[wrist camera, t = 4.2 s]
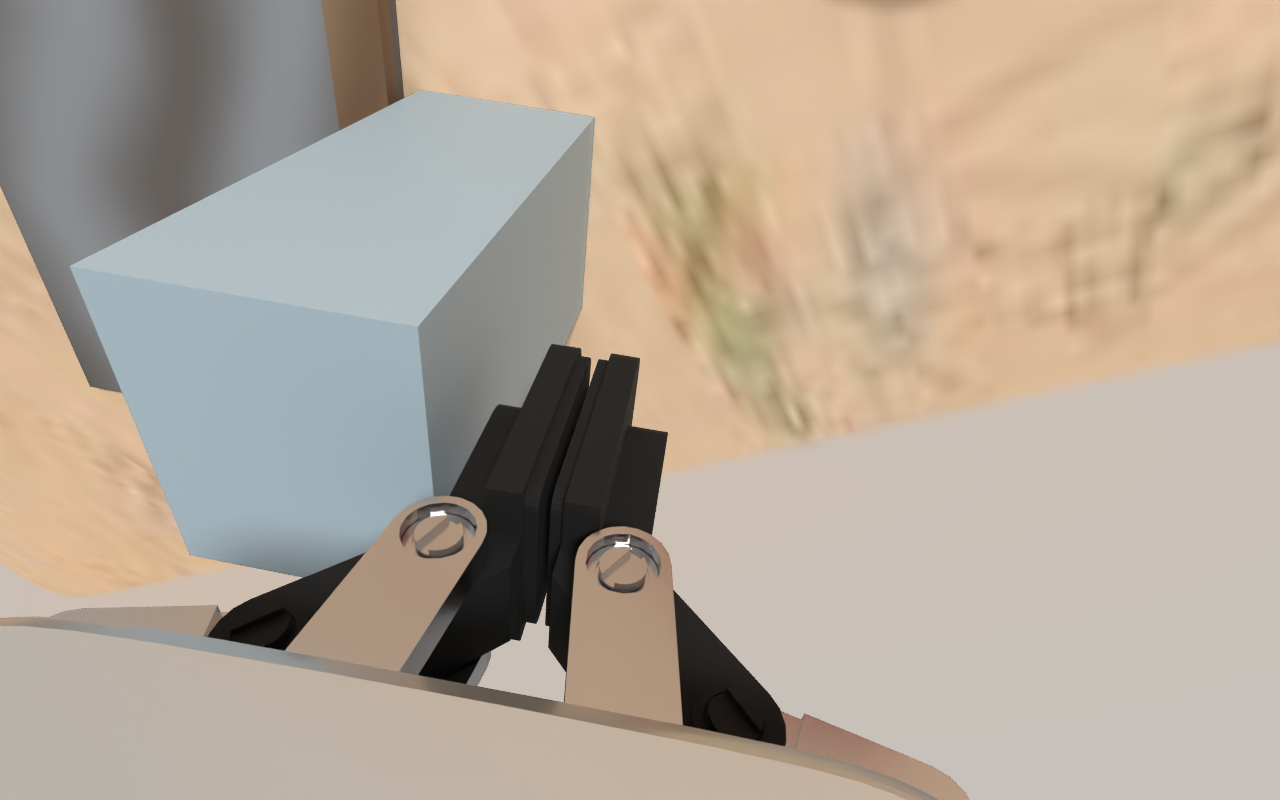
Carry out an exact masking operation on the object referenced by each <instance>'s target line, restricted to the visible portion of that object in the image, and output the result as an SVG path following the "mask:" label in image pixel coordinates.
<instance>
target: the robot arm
mask: <svg viewBox="0 0 1280 800" xmlns="http://www.w3.org/2000/svg"><path fill="white" fill-rule="evenodd" d="M639 364H640V358H636V357H630V356H624V355H618V354H611V355H610V358H609V361H607V360H601V359H599V360H598V363H597V366H596V368H595V371H594V374H593V377H592V380H591V383H590V386H589V380H590V368H591V358H589V357H583V356H581V349H580V348H575V347H569V346H563V345H557V344H551V345H550V347H549V349H548V351H547V354H546V356H545V358H544V360H543V362H542V364H541V367H540V369H539V371H538V373H537V375H536V377H535V379H534V382H533V384H532V386H531V388H530V390H529V392H528V395H527V397H526V399H525V401H524V403H523V405H522V407H521V408H520V407H514V406H508V405H502V404H499V405H497V406H496V408H495V409H494V411H493V412H492V414H491V416H490V418H489V420H488V422H487V424H486V426H485V428H484V430H483V432H482V434H481V436H480V438H479V439H478V441H477V443H476V445H475V447H474V449H473V451H472V453H471V455H470V457H469V459H468V461H467V463H466V465H465V467H464V468H463V470H462V472H461V474H460V476H459V478H458V480H457V482H456V484H455V486H454V488H453V490H452V492H451V494H450V495H449V496H433V497H429V498H425V499H422V500H418V501H416V502H415V503H413V504H411V505H409V506H407V507H405V508H404V509H403V510H402V511H401V512H400V513H399V514H398V515H396V516H395V518H394V519H393V520H392V521H391V522H390V524H389V525H388V526H387V527H386V529H385V530H384V531H383V532H382V533H381V535H380V536H379V537H378V538H377V539H376V541H375V542H374V543H373V544H372V546H371V547H370V548H369V549H368V550H367V552H365V553H363V554H360V555H358V556H355V557H353V558H351V559H348V560H346V561H343V562H341V563H338V564H336V565H333V566H331V567H328V568H326V569H324V570H321V571H319V572H316V573H314V574H311V575H309V576H306V577H304V578H302V579H299V580H297V581H294V582H292V583H289V584H287V585H285V586H282V587H279V588H277V589H275V590H272V591H270V592H267V593H265V594H262V595H260V596H257V597H255V598H252V599H250V600H248V601H246V602H244V603H243V604H241V605H239V606H237V607H235V608H233V609H232V610H231V611H230V612H220V610H219V608H218V606H217V605H212V606H211V605H209V606H169V607H168V606H167V607H123V608H84V609H76V610H70V611H64V612H61V613H58V614H56V615H53V616H51V617H15V618H14V617H12V618H0V800H969V798H968V796H967V794H966V793H965V792H964V791H963V790H962V789H961V787H960V786H958V785H957V783H956V782H955V781H954V780H953V779H952V778H951V777H949V776H948V775H946V774H944V773H943V772H941V771H939V770H938V769H936V768H934V767H933V766H930V765H928V764H925V763H923V762H921V761H918V760H916V759H913V758H911V757H909V756H906V755H904V754H901V753H899V752H897V751H894V750H892V749H889V748H886V747H884V746H882V745H880V744H877V743H875V742H872V741H870V740H868V739H865V738H863V737H860V736H858V735H855V734H853V733H850V732H848V731H846V730H843V729H841V728H838V727H836V726H834V725H831V724H829V723H826V722H824V721H821V720H819V719H817V718H814V717H811V716H809V715H807V714H804V715H803V717H802V719H798V718H796V717H793V716H791V715H789V714H786V713H784V712H782V711H781V710H780V708H779V707H778V705H777V704H776V703H775V701H774V700H773V698H772V697H771V695H770V694H769V693H768V692H767V691H766V690H765V689H764V688H763V687H762V686H761V684H760V683H759V682H758V681H757V680H756V679H755V678H754V677H753V676H752V675H751V674H750V673H749V671H748V670H747V669H746V668H745V667H744V666H743V665H742V664H741V663H740V662H739V661H738V659H737V658H736V657H735V656H734V655H733V654H732V653H731V652H730V651H729V650H728V649H727V647H726V646H725V645H724V644H723V643H722V642H721V641H720V640H719V639H718V638H717V637H716V636H715V634H714V633H713V632H712V631H711V630H710V629H709V628H708V627H707V626H706V625H705V624H704V622H703V621H702V620H701V619H700V618H699V617H698V616H697V615H696V614H695V613H694V612H693V611H692V609H691V608H690V607H689V606H688V605H687V604H686V603H685V602H684V601H683V600H682V599H681V598H680V596H679V595H678V594H677V593H676V592H675V591H674V590H673V581H672V580H673V579H672V566H671V561H670V557H669V554H668V552H667V551H666V549H665V548H664V546H663V545H662V543H661V542H659V541H658V540H657V539H655V538H654V537H653V536H652V531H653V525H654V518H655V512H656V505H657V499H658V493H659V487H660V480H661V474H662V468H663V461H664V455H665V448H666V442H667V436H668V432H662V431H656V430H650V429H644V428H638V427H632V418H633V411H634V403H635V395H636V388H637V380H638V372H639ZM546 593H547V598H546V620H545V625H546V626H549V646H548V647H549V649H550V650H551V652H552V653H553V655H554V656H555V657H556V659H557V660H558V662H559V663H560V664H561V666H562V667H563V669H564V670H565V672H566V681H565V695H564V703H563V702H558V701H553V700H548V699H542V698H537V697H531V696H526V695H521V694H515V693H510V692H504V691H499V690H494V689H488V688H483V687H478V686H477V685H478V684H479V682H480V680H481V678H482V676H483V674H484V672H485V670H486V668H487V666H488V663H489V660H490V658H491V651H492V650H493V649H495V648H497V647H499V646H501V645H503V644H505V643H506V642H508V641H510V640H511V639H513V640H519V641H520V640H521V637H522V634H523V630H524V627H525V624H526V622H529V623H535V624H536V623H537V621H538V619H539V616H540V612H541V609H542V606H543V602H544V599H545V596H546Z"/></svg>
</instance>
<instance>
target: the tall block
mask: <svg viewBox="0 0 1280 800" xmlns="http://www.w3.org/2000/svg"><path fill="white" fill-rule="evenodd" d="M594 123H595V117H592V116H586V115H579V114H573V113H566V112H560V111H553V110H547V109H540V108H534V107H528V106H521V105H515V104H508V103H502V102H495V101H489V100H482V99H476V98H469V97H463V96H457V95H450V94H444V93H437V92H431V91H424V90H419V91H417V92H415V93H413V94H411V95H409V96H407V97H405V98H404V99H402V100H400V101H398V102H396V103H394V104H392V105H390V106H388V107H386V108H384V109H382V110H380V111H378V112H376V113H374V114H372V115H370V116H368V117H366V118H364V119H362V120H360V121H358V122H356V123H354V124H352V125H350V126H348V127H346V128H344V129H342V130H340V131H338V132H336V133H334V134H332V135H330V136H328V137H326V138H324V139H322V140H320V141H318V142H316V143H314V144H312V145H310V146H308V147H306V148H304V149H302V150H300V151H298V152H296V153H294V154H292V155H290V156H288V157H286V158H284V159H282V160H280V161H278V162H276V163H274V164H272V165H270V166H268V167H266V168H264V169H262V170H260V171H258V172H256V173H254V174H252V175H250V176H248V177H246V178H244V179H242V180H240V181H238V182H236V183H234V184H232V185H230V186H228V187H226V188H224V189H222V190H220V191H218V192H216V193H214V194H212V195H210V196H208V197H206V198H204V199H202V200H200V201H198V202H196V203H194V204H192V205H190V206H188V207H186V208H184V209H182V210H180V211H178V212H176V213H174V214H172V215H170V216H168V217H166V218H164V219H162V220H160V221H158V222H156V223H154V224H152V225H150V226H148V227H146V228H144V229H142V230H140V231H138V232H136V233H134V234H132V235H130V236H128V237H126V238H124V239H122V240H120V241H118V242H116V243H114V244H112V245H110V246H108V247H107V248H105V249H103V250H101V251H99V252H97V253H95V254H93V255H91V256H89V257H87V258H85V259H83V260H81V261H79V262H77V263H75V264H73V265H71V266H70V268H71V271H72V273H73V276H74V278H75V280H76V283H77V285H78V288H79V290H80V292H81V295H82V297H83V300H84V302H85V304H86V307H87V309H88V312H89V314H90V316H91V319H92V321H93V324H94V326H95V328H96V331H97V333H98V336H99V338H100V340H101V343H102V345H103V348H104V350H105V352H106V355H107V357H108V360H109V362H110V365H111V367H112V369H113V372H114V374H115V377H116V379H117V381H118V384H119V386H120V389H121V391H122V393H123V396H124V398H125V401H126V403H127V405H128V408H129V410H130V413H131V415H132V417H133V420H134V422H135V425H136V427H137V429H138V432H139V434H140V437H141V439H142V441H143V444H144V446H145V449H146V451H147V453H148V456H149V458H150V461H151V463H152V465H153V468H154V470H155V473H156V475H157V477H158V480H159V482H160V485H161V487H162V489H163V492H164V494H165V497H166V499H167V501H168V504H169V506H170V509H171V511H172V513H173V516H174V518H175V521H176V523H177V525H178V528H179V530H180V533H181V535H182V537H183V540H184V542H185V545H186V547H187V549H188V552H189V554H190V555H191V556H197V557H202V558H207V559H212V560H217V561H222V562H227V563H232V564H237V565H242V566H247V567H252V568H258V569H263V570H268V571H273V572H278V573H283V574H288V575H293V576H299V577H303V578H304V577H306V576H309V575H311V574H314V573H316V572H319V571H321V570H324V569H326V568H328V567H331V566H333V565H336V564H338V563H341V562H343V561H346V560H348V559H351V558H353V557H355V556H358V555H360V554H363V553H365V552H367V550H368V549H369V548H370V547H371V546H372V544H373V543H374V542H375V541H376V539H377V538H378V537H379V536H380V535H381V533H382V532H383V531H384V530H385V529H386V527H387V526H388V525H389V524H390V522H391V521H392V520H393V519H394V518H395V516H396V515H398V514H399V513H400V512H401V511H402V510H403V509H404V508H405V507H407V506H409V505H411V504H413V503H415V502H416V501H418V500H422V499H425V498H429V497H433V496H449V495H450V494H451V492H452V490H453V488H454V486H455V484H456V482H457V480H458V478H459V476H460V474H461V472H462V470H463V468H464V467H465V465H466V463H467V461H468V459H469V457H470V455H471V453H472V451H473V449H474V447H475V445H476V443H477V441H478V439H479V438H480V436H481V434H482V432H483V430H484V428H485V426H486V424H487V422H488V420H489V418H490V416H491V414H492V412H493V411H494V409H495V408H496V406H497V405H499V404H502V405H508V406H514V407H520V408H521V407H522V405H523V403H524V401H525V399H526V397H527V395H528V392H529V390H530V388H531V386H532V384H533V382H534V379H535V377H536V375H537V373H538V371H539V369H540V367H541V364H542V362H543V360H544V358H545V356H546V354H547V351H548V349H549V347H550V345H551V344H557V345H563V346H564V345H565V343H566V341H567V339H568V337H569V335H570V332H571V330H572V328H573V326H574V324H575V322H576V320H577V317H578V315H579V313H580V311H581V309H582V300H583V285H584V270H585V255H586V241H587V226H588V211H589V197H590V182H591V167H592V152H593V138H594Z"/></svg>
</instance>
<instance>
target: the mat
mask: <svg viewBox="0 0 1280 800" xmlns="http://www.w3.org/2000/svg"><path fill="white" fill-rule="evenodd" d="M402 99H404V96H403V84H402V73H401V62H400V50H399V39H398V28H397V16H396V5H395V0H0V186H1V189H2V191H3V193H4V195H5V197H6V200H7V202H8V204H9V206H10V209H11V211H12V213H13V215H14V218H15V220H16V222H17V224H18V226H19V229H20V231H21V233H22V235H23V238H24V240H25V242H26V244H27V247H28V249H29V251H30V253H31V255H32V258H33V260H34V262H35V264H36V267H37V269H38V271H39V273H40V276H41V278H42V280H43V282H44V285H45V287H46V289H47V291H48V293H49V296H50V298H51V300H52V302H53V305H54V307H55V309H56V311H57V314H58V316H59V318H60V320H61V322H62V325H63V327H64V329H65V331H66V334H67V336H68V338H69V340H70V343H71V345H72V347H73V349H74V351H75V354H76V356H77V358H78V360H79V363H80V365H81V367H82V369H83V372H84V374H85V376H86V378H87V381H88V383H89V385H90V387H96V388H101V389H107V390H112V391H118V392H122V391H121V389H120V386H119V384H118V381H117V379H116V377H115V374H114V372H113V369H112V367H111V365H110V362H109V360H108V357H107V355H106V352H105V350H104V348H103V345H102V343H101V340H100V338H99V336H98V333H97V331H96V328H95V326H94V324H93V321H92V319H91V316H90V314H89V312H88V309H87V307H86V304H85V302H84V300H83V297H82V295H81V292H80V290H79V288H78V285H77V283H76V280H75V278H74V276H73V273H72V271H71V268H70V266H71V265H73V264H75V263H77V262H79V261H81V260H83V259H85V258H87V257H89V256H91V255H93V254H95V253H97V252H99V251H101V250H103V249H105V248H107V247H108V246H110V245H112V244H114V243H116V242H118V241H120V240H122V239H124V238H126V237H128V236H130V235H132V234H134V233H136V232H138V231H140V230H142V229H144V228H146V227H148V226H150V225H152V224H154V223H156V222H158V221H160V220H162V219H164V218H166V217H168V216H170V215H172V214H174V213H176V212H178V211H180V210H182V209H184V208H186V207H188V206H190V205H192V204H194V203H196V202H198V201H200V200H202V199H204V198H206V197H208V196H210V195H212V194H214V193H216V192H218V191H220V190H222V189H224V188H226V187H228V186H230V185H232V184H234V183H236V182H238V181H240V180H242V179H244V178H246V177H248V176H250V175H252V174H254V173H256V172H258V171H260V170H262V169H264V168H266V167H268V166H270V165H272V164H274V163H276V162H278V161H280V160H282V159H284V158H286V157H288V156H290V155H292V154H294V153H296V152H298V151H300V150H302V149H304V148H306V147H308V146H310V145H312V144H314V143H316V142H318V141H320V140H322V139H324V138H326V137H328V136H330V135H332V134H334V133H336V132H338V131H340V130H342V129H344V128H346V127H348V126H350V125H352V124H354V123H356V122H358V121H360V120H362V119H364V118H366V117H368V116H370V115H372V114H374V113H376V112H378V111H380V110H382V109H384V108H386V107H388V106H390V105H392V104H394V103H396V102H398V101H400V100H402Z"/></svg>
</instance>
